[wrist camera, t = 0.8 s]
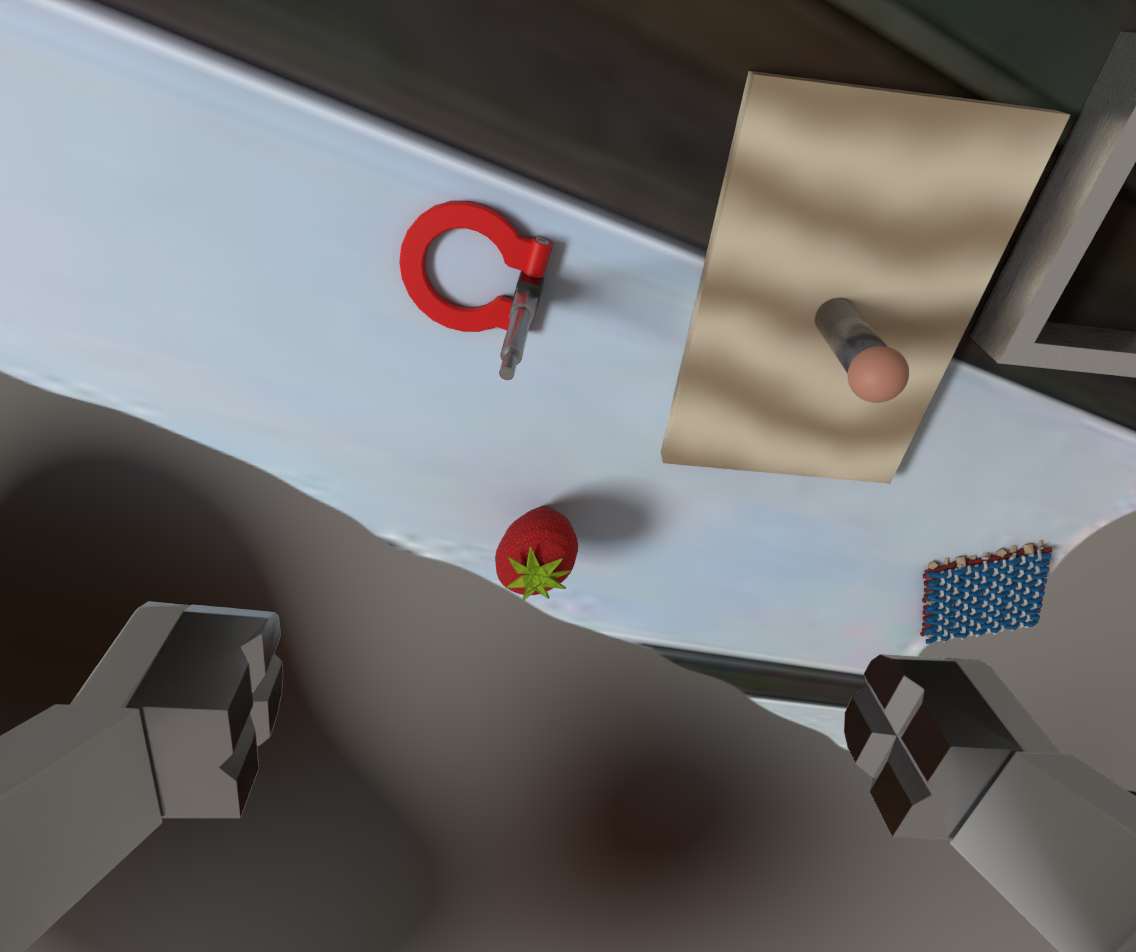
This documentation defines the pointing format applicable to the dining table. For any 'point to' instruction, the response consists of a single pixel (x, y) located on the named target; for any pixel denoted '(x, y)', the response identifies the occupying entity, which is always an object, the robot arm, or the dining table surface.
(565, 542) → the strawberry
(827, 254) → the board
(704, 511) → the dining table surface
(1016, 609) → the woven mat
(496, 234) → the tow hook
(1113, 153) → the steel link
